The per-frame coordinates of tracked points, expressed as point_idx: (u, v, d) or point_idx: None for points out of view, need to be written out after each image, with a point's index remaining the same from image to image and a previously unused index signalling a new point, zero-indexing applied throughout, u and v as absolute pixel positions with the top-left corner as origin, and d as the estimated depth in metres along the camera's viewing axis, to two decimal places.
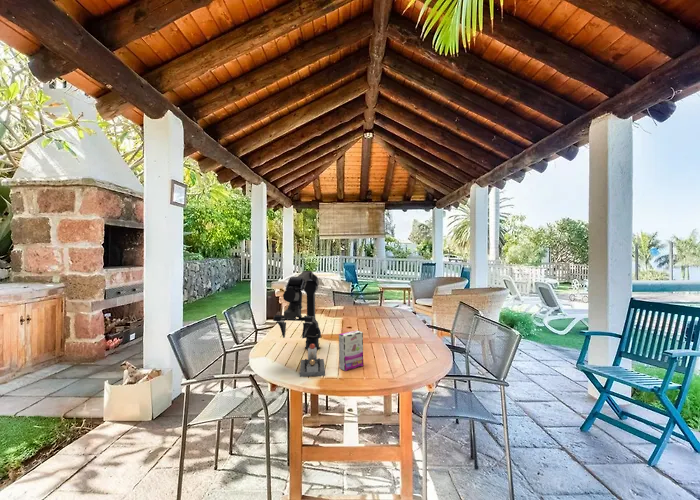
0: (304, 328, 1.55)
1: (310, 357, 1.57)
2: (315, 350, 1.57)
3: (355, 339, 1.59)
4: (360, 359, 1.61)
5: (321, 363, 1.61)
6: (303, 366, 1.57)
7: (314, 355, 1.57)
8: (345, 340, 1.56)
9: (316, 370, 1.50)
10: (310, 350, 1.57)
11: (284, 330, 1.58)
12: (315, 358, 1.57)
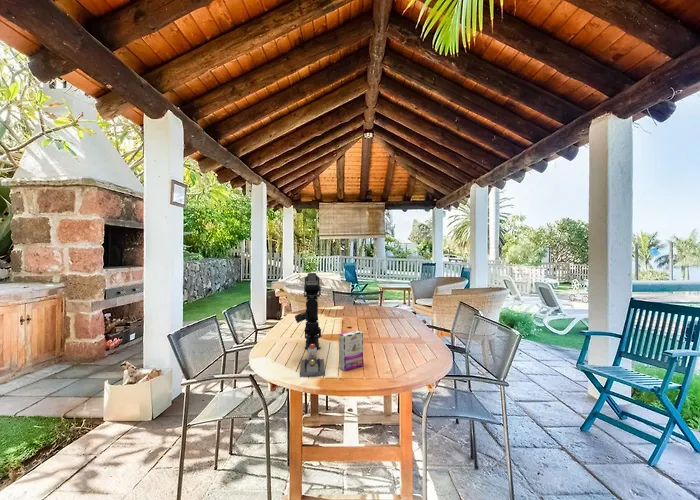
0: (309, 330, 1.69)
1: (310, 357, 1.57)
2: (315, 350, 1.57)
3: (355, 339, 1.59)
4: (360, 359, 1.61)
5: (321, 363, 1.61)
6: (303, 366, 1.57)
7: (314, 355, 1.57)
8: (345, 340, 1.56)
9: (316, 370, 1.50)
10: (310, 350, 1.57)
11: None
12: (315, 358, 1.57)
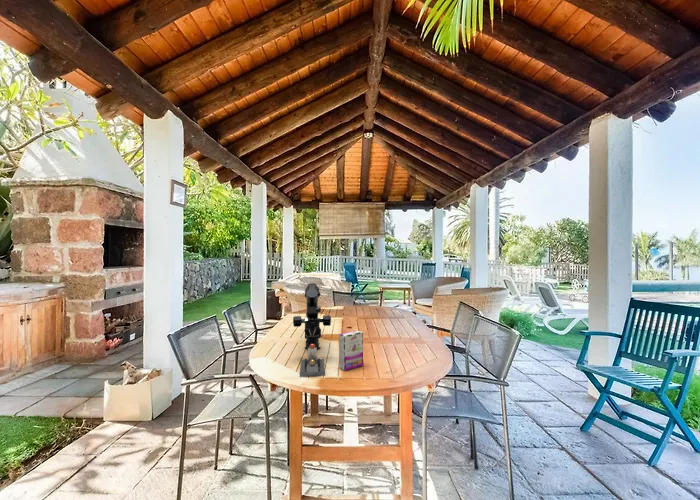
0: (314, 326, 1.68)
1: (310, 357, 1.57)
2: (315, 350, 1.57)
3: (355, 339, 1.59)
4: (360, 359, 1.61)
5: (321, 363, 1.61)
6: (303, 366, 1.57)
7: (314, 355, 1.57)
8: (345, 340, 1.56)
9: (316, 370, 1.50)
10: (310, 350, 1.57)
11: None
12: (315, 358, 1.57)
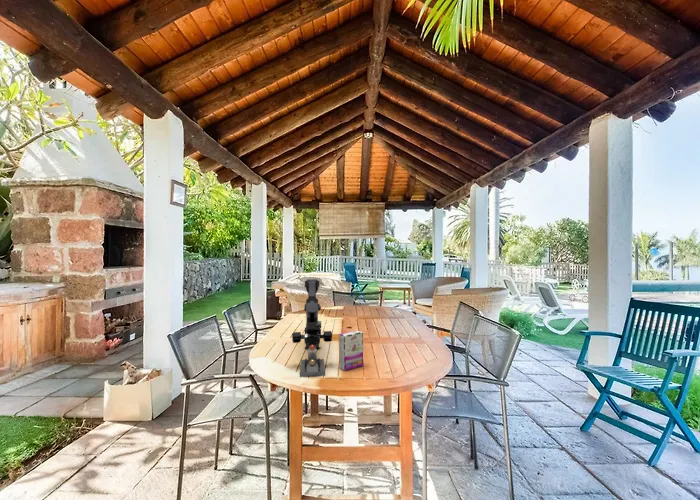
0: (314, 343, 1.59)
1: (310, 358, 1.56)
2: (315, 351, 1.56)
3: (355, 339, 1.59)
4: (360, 359, 1.61)
5: (321, 363, 1.61)
6: (303, 366, 1.57)
7: (314, 356, 1.56)
8: (345, 340, 1.56)
9: (316, 370, 1.50)
10: (310, 351, 1.56)
11: None
12: (315, 359, 1.56)
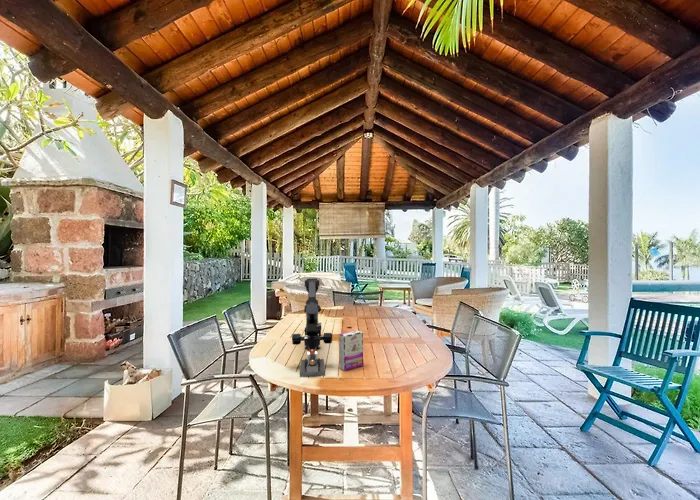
0: (314, 344, 1.58)
1: None
2: (315, 355, 1.54)
3: (355, 339, 1.59)
4: (360, 359, 1.61)
5: (321, 363, 1.61)
6: (303, 366, 1.57)
7: (314, 359, 1.55)
8: (345, 340, 1.56)
9: (316, 370, 1.50)
10: (310, 355, 1.53)
11: None
12: (315, 361, 1.55)
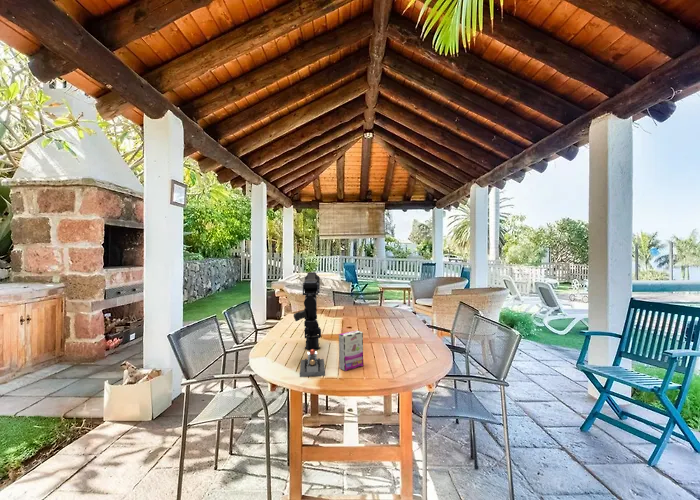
0: (308, 328, 1.69)
1: None
2: (315, 355, 1.54)
3: (355, 339, 1.59)
4: (360, 359, 1.61)
5: (321, 363, 1.61)
6: (303, 366, 1.57)
7: (314, 359, 1.55)
8: (345, 340, 1.56)
9: (316, 370, 1.50)
10: (310, 355, 1.53)
11: None
12: (315, 361, 1.55)
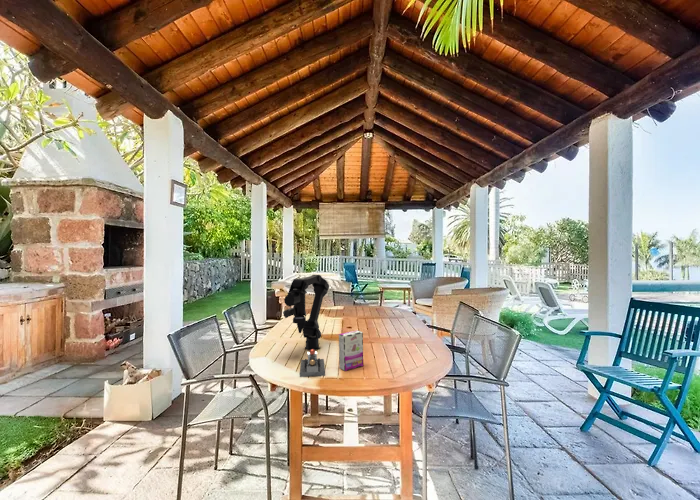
0: (297, 324, 1.76)
1: None
2: (315, 355, 1.54)
3: (355, 339, 1.59)
4: (360, 359, 1.61)
5: (321, 363, 1.61)
6: (303, 366, 1.57)
7: (314, 359, 1.55)
8: (345, 340, 1.56)
9: (316, 370, 1.50)
10: (310, 355, 1.53)
11: None
12: (315, 361, 1.55)
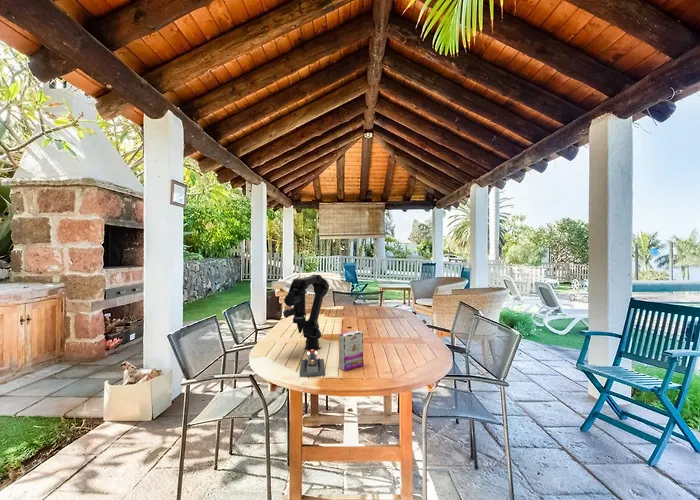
0: (297, 324, 1.76)
1: None
2: (315, 355, 1.54)
3: (355, 339, 1.59)
4: (360, 359, 1.61)
5: (321, 363, 1.61)
6: (303, 366, 1.57)
7: (314, 359, 1.55)
8: (345, 340, 1.56)
9: (316, 370, 1.50)
10: (310, 355, 1.53)
11: None
12: (315, 361, 1.55)
